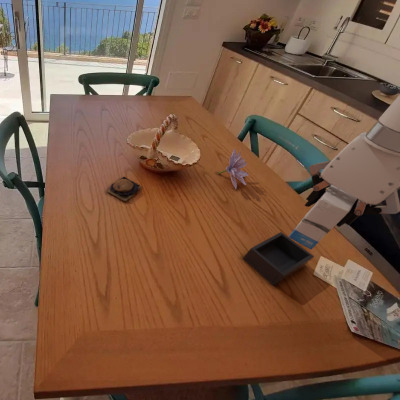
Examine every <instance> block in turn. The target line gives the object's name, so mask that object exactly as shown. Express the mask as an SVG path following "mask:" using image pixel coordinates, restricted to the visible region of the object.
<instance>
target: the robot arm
mask: <svg viewBox="0 0 400 400" xmlns="http://www.w3.org/2000/svg"><path fill="white" fill-rule="evenodd" d="M308 169H309V173H310V175H311V181H312V185H313V187H312V191H311V192H310V193H309V195H308V196H307V197H306V198H305V200H306V202H305V204H304V206H305V207H306V208H309V207H311V206H314V204H315V203H316V202H317V201H318V200H319V199H320V197H321V196H322V195H323V194H324V193H325V192H326V190H327V187H330V186H331V185H333V186H335V187H337V188H339V189H341V190H342V191H344V192H346V193H348V194H350V195H352V196H353V197H355V198H357V202H356V205H355V207H354V208H352V209H350V211H349V212H348V213H347V214H346V215H345V216H344V217H343V218H342V219H341V220H340V221H339V222H338V223H337V224H336V225H335V226H337V227H338V228H340V227H342V226H343V225H347V226H350V225H351V224H352V223H353V222H354V221H356V220H357V219H358V218H359V217H361V216H363V215H364V216H365V215H396V214H398V213H400V198H399V194H398V190H400V94H398V95H397V97H396V98H395V99H394V100H393V101H392V103H391V104H390V105H389V106H388V107H387V108H386V110H385V111H384V112H383V113H382V115H380V116H379V118H378V119H377V120H376V121H375V122H374V123H373V125H371V127H370V128H369V129H368V131H363V132H362V133H360V134H359V135H357V136H356V137H355V138H353V140H351V141H350V142H349V143H348V144H346V146H345V147H343V148H342V149H341V150H340V151H339V152H338V153H337V155H335V156H334V158H333V159H332V160H328V161H327V160H326V161H323V162H318V163H313V164H311V165H309V166H308ZM383 201H385V204H386V205H381V204H380V203H382V202H383ZM379 204H380V205H379Z"/></svg>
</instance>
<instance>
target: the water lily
mask: <svg viewBox="0 0 400 400" xmlns="http://www.w3.org/2000/svg"><path fill="white" fill-rule="evenodd" d="M242 157H243V156H242V155H241V151H239V152H238V153H237V151H236V148H233V150H232V152H231V155H230V156H229V159H228V165H227V166H226V167H225V169H224V170H221V171H219V172H218V173H217V174H218V175H220V174H223V173H225V172H226V173H228V174H229V175H230V176H229V177H230V180H231V183H232V185H233V188H234V189H235V190H237V186H238V183H237V180H238V181H239V182H240V183H241V184H243V185H244V186H247V183H246V181H245V179H244V177H248V176H250V174H248V172H246V171H244V170H242V169H243V168H244V167H246V166H247V165H248V162H247V161H245V160H246V159H245V158H244V157H243V158H242Z"/></svg>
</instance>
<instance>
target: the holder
mask: <svg viewBox="0 0 400 400" xmlns="http://www.w3.org/2000/svg"><path fill="white" fill-rule="evenodd" d="M314 257H315V256H314V255H313V254H312V253H310V252H309V251H307V249H305V248H304V247H302V245H299V243H298V242H296V241H294V240H293V239H291V238H289V236H288V235H286V234H285V233H283V232H282V231H280V232H278V233H276V234H275V235H272V236H271V237H269V238H268V239H265V240H264V241H262V242H260V243H258V244H256V245H253V247H251V248H250V249H249V250H248V251H247V252H246V254H245V255H244V256H243V257H242V260H244V261H245V262H246V263H247V264H249V265H250V266H251V267H252V268H253V269H254V270H255V271H256V272H257V273H258V274H259V275H261V277H263V278H264V279H265V280H266V281H267V282H269V284H271V285H272V286H273V287H274V286H276V285H277V284H279V283H281V282H282V281H284V280H285V279H286V278H288V277H289V276H291V275H292V274H294V273H295V272H297V271H298V270H300V269H302V268H304V267H305V266H306V265H307V264H308V263H309V262H310V261H311V260H312V259H313V258H314Z"/></svg>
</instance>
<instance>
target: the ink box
mask: <svg viewBox="0 0 400 400" xmlns="http://www.w3.org/2000/svg"><path fill="white" fill-rule="evenodd" d="M356 201H358V199H357V198H355V197H353V196H352V195H350V194H348V193H346V192H344V191H342V190H341V189H339V188H337V187H335V186H333V185H329V186H328V188H326V192H325V193H324V194H323V195H322V196H321V197H320V199H319V200H318V201H317V202H316V203H315V204H313V205H312V207H311V208H310V209H309V210H308V211H307V213H306V214H305V215H304V216H303V218H302V219H301V220H300V221H299V222H298V224H297V225H296V226H295V228H294V229H293V230H292V232H291V233H290V234H289V235H288V237H289V238H290V239H291V240H293V241H294V242H295V243H297V244H300V245H301V246H303V247H306V248H307V249H308V250H313V249H314V248H315V247H316V246H317V245H318V244H319V243H320V242H321V240H322V239H323V238H325V236H326V235H328V233H330V231H332V229H334V227H335V226H337V225H336V224H337V223H338V222H339V221H340V220H341V219H342V218H343V217H344V216H345V215H346V214H347V213H348V212H349V211H351V210H352V209H353V206H354V204H355V203H356Z"/></svg>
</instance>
